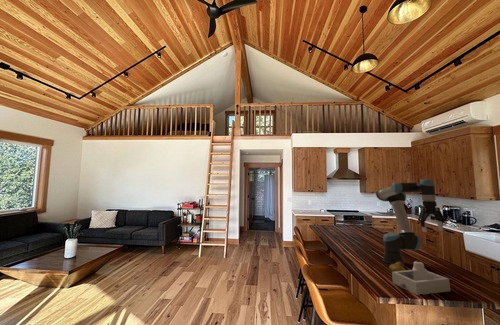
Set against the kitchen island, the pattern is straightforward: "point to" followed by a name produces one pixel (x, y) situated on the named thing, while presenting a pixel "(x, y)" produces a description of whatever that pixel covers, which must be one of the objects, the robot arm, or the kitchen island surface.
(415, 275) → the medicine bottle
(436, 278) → the grey rectangular tray
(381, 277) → the kitchen island surface
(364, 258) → the kitchen island surface
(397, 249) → the robot arm
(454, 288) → the kitchen island surface
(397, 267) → the bread roll
